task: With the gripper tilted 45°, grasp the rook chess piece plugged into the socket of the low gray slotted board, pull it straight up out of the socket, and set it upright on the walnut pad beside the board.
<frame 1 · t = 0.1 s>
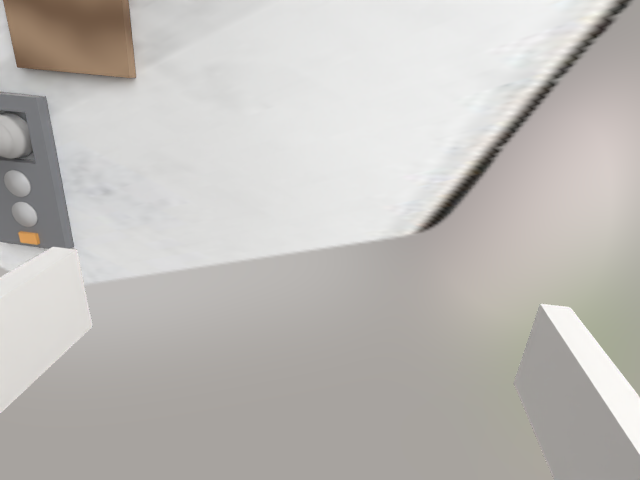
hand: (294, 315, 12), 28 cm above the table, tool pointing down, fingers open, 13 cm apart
gray slotted board: (25, 173, 43), on the table
walnut pad: (69, 4, 36), on the table
rook chess piece: (18, 134, 42), resting in gray slotted board
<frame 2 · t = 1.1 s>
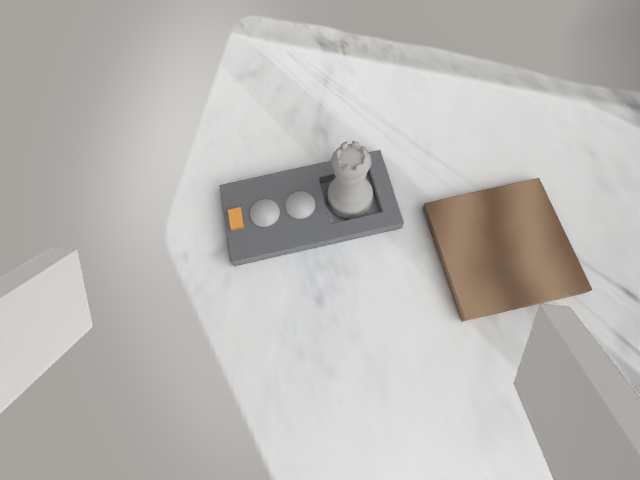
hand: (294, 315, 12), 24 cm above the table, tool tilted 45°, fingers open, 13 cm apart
gray slotted board: (309, 209, 40), on the table
walnut pad: (500, 248, 37), on the table
rook chess piece: (350, 201, 40), resting in gray slotted board
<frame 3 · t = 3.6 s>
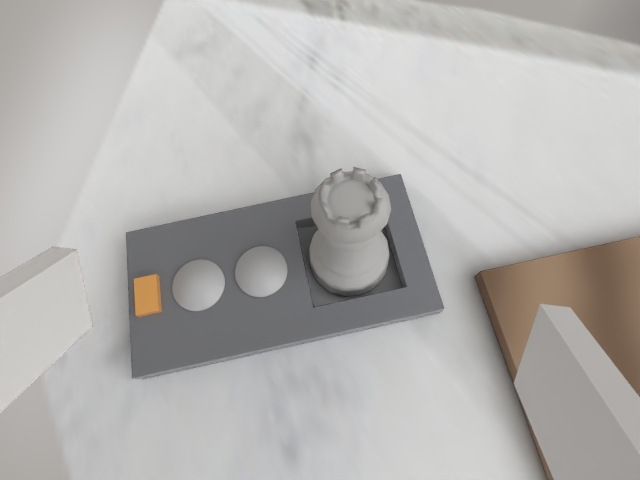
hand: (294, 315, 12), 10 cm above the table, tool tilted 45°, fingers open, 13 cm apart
gray slotted board: (279, 274, 23), on the table
walnut pad: (617, 356, 21), on the table
rook chess piece: (348, 260, 23), resting in gray slotted board
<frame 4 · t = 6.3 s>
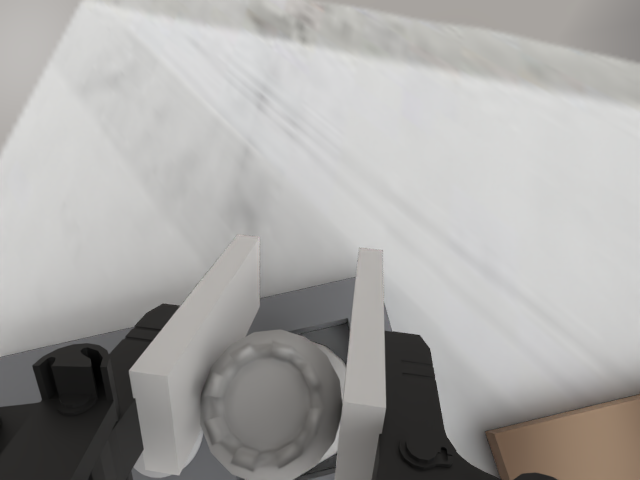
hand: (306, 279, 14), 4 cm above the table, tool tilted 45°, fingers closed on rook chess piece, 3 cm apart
gray slotted board: (197, 424, 16), on the table
rook chess piece: (300, 400, 16), resting in gray slotted board, touching gripper
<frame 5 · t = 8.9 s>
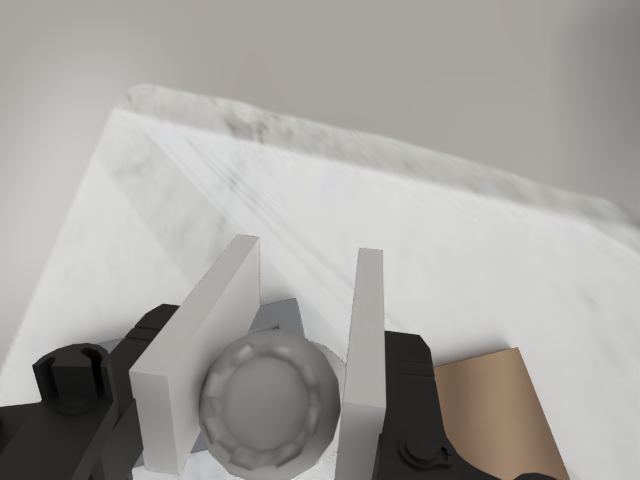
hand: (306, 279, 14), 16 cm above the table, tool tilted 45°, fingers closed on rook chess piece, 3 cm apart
gray slotted board: (193, 385, 28), on the table
walnut pad: (461, 457, 26), on the table
rook chess piece: (299, 400, 16), point 12 cm above the table, touching gripper
when the fingers open (6 cm above the table, at t = 11.6 s): rook chess piece drops 1 cm, resting on walnut pad.
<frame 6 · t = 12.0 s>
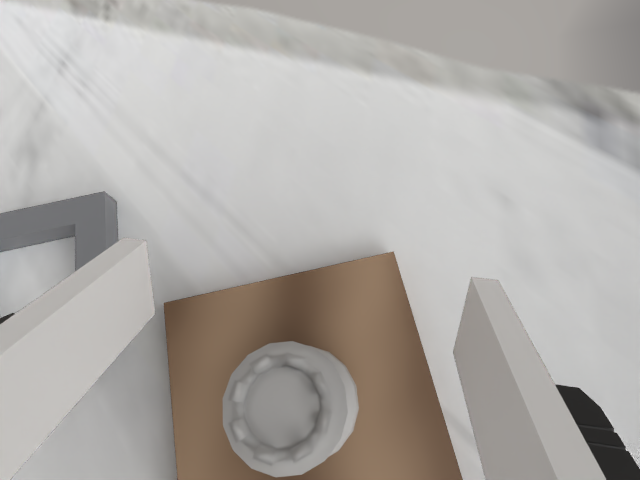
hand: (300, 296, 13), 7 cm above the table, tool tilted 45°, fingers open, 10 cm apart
walnut pad: (304, 400, 18), on the table
rook chess piece: (305, 401, 17), point 1 cm above the table, touching walnut pad
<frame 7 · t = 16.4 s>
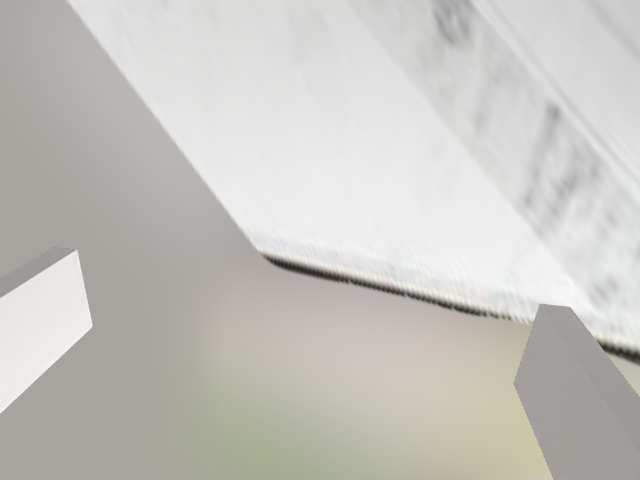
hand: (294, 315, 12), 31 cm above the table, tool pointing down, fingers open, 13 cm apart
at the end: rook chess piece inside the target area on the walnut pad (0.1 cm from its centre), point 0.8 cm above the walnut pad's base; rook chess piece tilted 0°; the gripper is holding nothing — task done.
